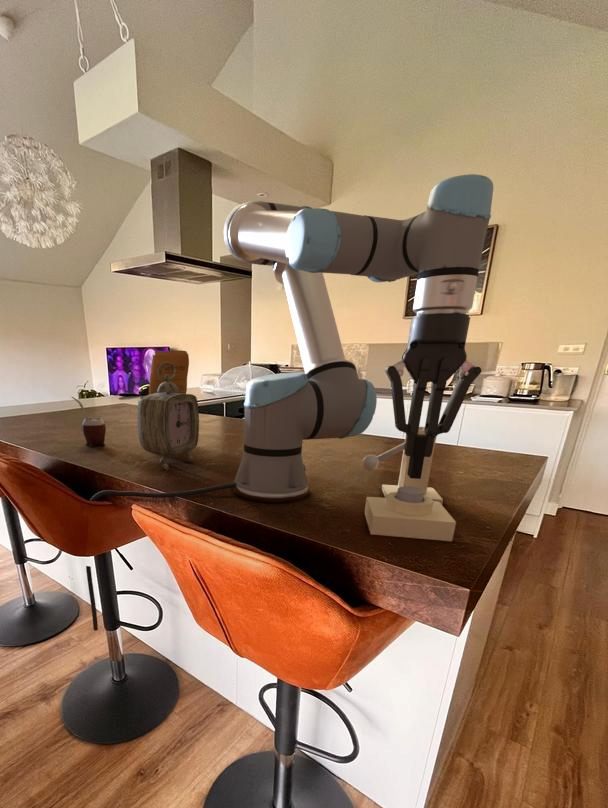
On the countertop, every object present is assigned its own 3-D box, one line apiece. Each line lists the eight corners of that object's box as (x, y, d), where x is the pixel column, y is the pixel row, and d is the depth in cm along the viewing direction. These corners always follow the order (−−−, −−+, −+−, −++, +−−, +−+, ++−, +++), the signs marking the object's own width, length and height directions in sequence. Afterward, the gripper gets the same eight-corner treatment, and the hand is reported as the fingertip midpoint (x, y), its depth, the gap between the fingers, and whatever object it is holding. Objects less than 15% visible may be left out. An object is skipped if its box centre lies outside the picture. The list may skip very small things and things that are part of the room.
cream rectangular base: (370, 534, 67) (374, 504, 65) (364, 513, 76) (367, 486, 74) (452, 541, 64) (458, 511, 63) (435, 518, 74) (441, 491, 72)
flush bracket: (387, 501, 82) (397, 430, 78) (381, 489, 90) (391, 424, 85) (442, 505, 80) (456, 433, 76) (431, 493, 88) (444, 426, 83)
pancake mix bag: (197, 443, 135) (196, 350, 126) (158, 454, 120) (153, 349, 110) (180, 441, 139) (178, 350, 129) (140, 451, 124) (134, 349, 114)
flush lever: (367, 475, 84) (360, 461, 83) (366, 471, 87) (359, 457, 86) (433, 443, 79) (426, 428, 79) (429, 440, 82) (422, 425, 82)
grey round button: (398, 503, 67) (400, 492, 67) (394, 495, 71) (395, 485, 70) (425, 505, 66) (427, 494, 66) (419, 497, 70) (421, 487, 70)
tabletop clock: (166, 473, 101) (162, 362, 92) (137, 468, 105) (130, 362, 96) (199, 461, 113) (198, 362, 104) (172, 457, 117) (168, 361, 108)
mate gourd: (111, 443, 134) (106, 395, 129) (98, 448, 127) (93, 397, 122) (89, 442, 136) (85, 394, 131) (76, 447, 129) (70, 396, 123)
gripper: (396, 311, 57) (373, 479, 65) (502, 310, 54) (465, 485, 62) (388, 317, 64) (368, 468, 72) (482, 315, 61) (451, 473, 69)
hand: (413, 476), depth 67 cm, fingers closed
